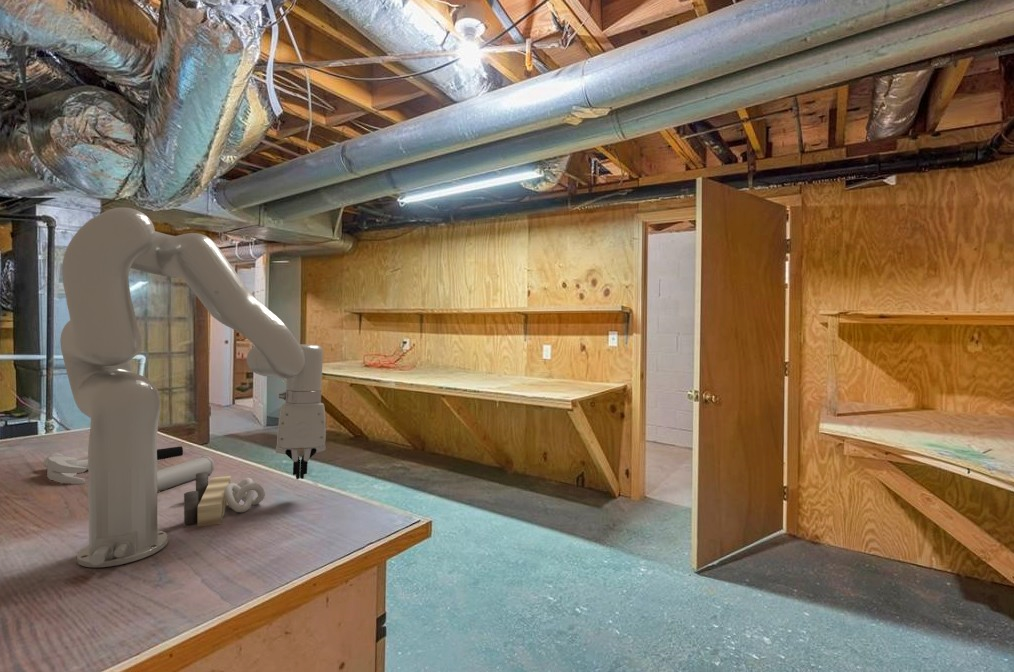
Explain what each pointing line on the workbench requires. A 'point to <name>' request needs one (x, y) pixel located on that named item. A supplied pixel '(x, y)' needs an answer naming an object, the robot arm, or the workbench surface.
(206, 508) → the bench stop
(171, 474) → the tube
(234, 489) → the knot
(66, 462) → the claw hammer
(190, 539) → the workbench surface
